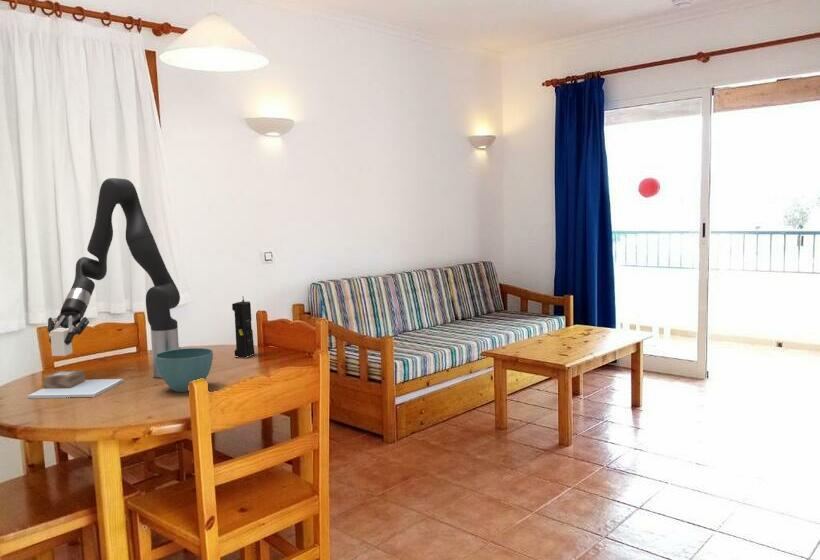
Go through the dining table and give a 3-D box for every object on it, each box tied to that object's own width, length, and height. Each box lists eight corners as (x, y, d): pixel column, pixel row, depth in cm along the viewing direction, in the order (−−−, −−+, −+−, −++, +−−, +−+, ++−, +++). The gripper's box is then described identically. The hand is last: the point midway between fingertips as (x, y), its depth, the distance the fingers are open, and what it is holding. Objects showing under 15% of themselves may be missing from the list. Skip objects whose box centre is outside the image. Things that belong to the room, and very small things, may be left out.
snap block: (72, 353, 221) (70, 327, 220) (65, 355, 217) (63, 329, 216) (59, 353, 221) (57, 327, 220) (52, 355, 217) (50, 329, 216)
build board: (123, 381, 226) (122, 367, 226) (93, 397, 206) (92, 382, 206) (62, 382, 227) (61, 368, 227) (27, 398, 207) (26, 383, 207)
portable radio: (247, 359, 260) (244, 298, 257) (233, 358, 261) (230, 298, 258) (255, 354, 267) (252, 295, 265) (242, 354, 268) (239, 295, 266)
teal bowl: (184, 380, 226) (182, 346, 225) (226, 384, 219) (224, 349, 218) (145, 393, 210) (143, 356, 208) (189, 398, 203) (186, 360, 201)
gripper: (51, 297, 225) (33, 337, 214) (91, 296, 225) (74, 337, 214) (61, 310, 231) (43, 349, 220) (100, 309, 231) (84, 349, 220)
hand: (59, 343), depth 217 cm, fingers closed on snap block, 4 cm apart
